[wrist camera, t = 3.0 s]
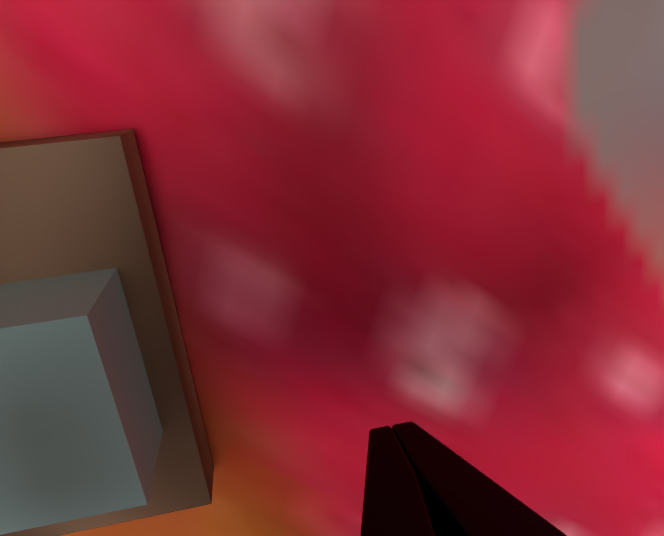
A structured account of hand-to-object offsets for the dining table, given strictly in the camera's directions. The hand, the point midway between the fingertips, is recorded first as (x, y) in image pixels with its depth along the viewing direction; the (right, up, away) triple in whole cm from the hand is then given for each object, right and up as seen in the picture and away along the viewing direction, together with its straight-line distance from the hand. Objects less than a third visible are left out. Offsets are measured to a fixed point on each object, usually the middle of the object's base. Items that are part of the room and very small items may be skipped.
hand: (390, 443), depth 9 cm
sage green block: (-9, +1, +3) cm, 9 cm away
